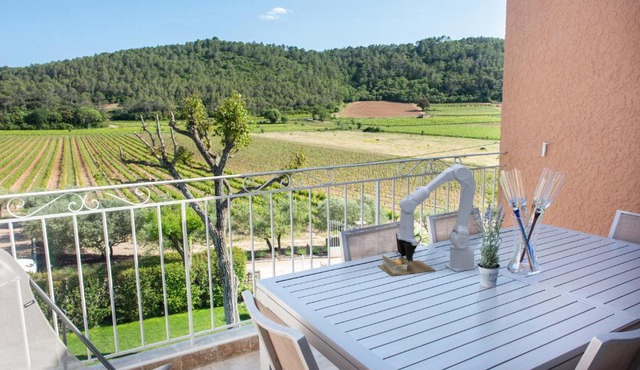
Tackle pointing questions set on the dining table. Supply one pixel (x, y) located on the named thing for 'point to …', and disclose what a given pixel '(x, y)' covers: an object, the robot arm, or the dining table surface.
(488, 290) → the dining table surface
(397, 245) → the coffee mug
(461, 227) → the robot arm
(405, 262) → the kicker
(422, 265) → the brown piece
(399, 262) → the ball
